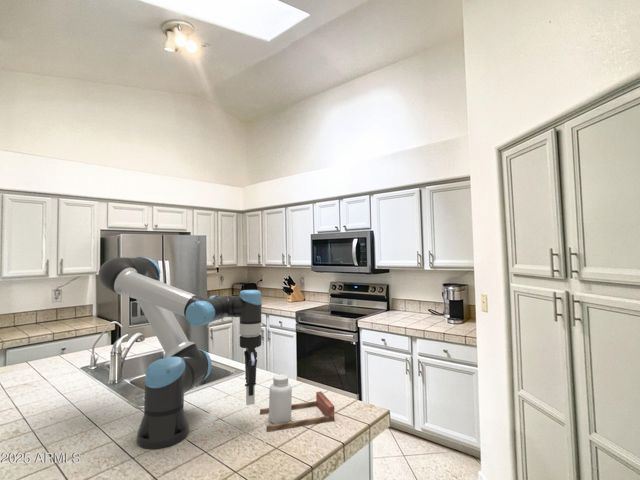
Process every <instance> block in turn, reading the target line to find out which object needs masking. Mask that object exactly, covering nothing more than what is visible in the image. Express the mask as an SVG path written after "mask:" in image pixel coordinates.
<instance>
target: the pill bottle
mask: <svg viewBox="0 0 640 480" xmlns="http://www.w3.org/2000/svg"><path fill="white" fill-rule="evenodd" d="M272 379H273V380H272V381H273V383H272V384H271V385H270V386H269V393H268V395H269V397H268V399H269V400H268V408H269V413H268V421H269V422H270V423H271V424H273V425H274V424H280V423H287V422H291V419H292V410H291V405H292V392H293V389H292V388H293V387H292V385H291V383H289V376H288V375H287V374H282V373H281V374H276V375H274V376H273V377H272Z"/></svg>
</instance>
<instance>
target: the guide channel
mask: <svg viewBox="0 0 640 480" xmlns="http://www.w3.org/2000/svg"><path fill="white" fill-rule="evenodd" d="M315 399H316V400H314V401H309V402H307V401H306V402H301V403H293V404H291V411H292V410H300V409H306V408H312V407H317V408H318V409H319V411H320V412H321V413H322V414H323V416H320V417H319V416H318V417H313V418H308V419H307V418H305V419H300V420H294V421H289V422H287V423H280V424H274V423H273V424H268V425H266V433H267V432H274V431H280V430H285V429H291V428H297V427H304V426H311V425H315V424H322V423H329V422H334V421H335V405H334V404H333V403H332V401H331V400H330V399H329V398H328V397H327V396H326V395H325V394H324V393H323V392H322V391H317V392H316V395H315ZM259 414H260V415H265V414H266V415H268V414H269V407H265V408H260V409H259Z"/></svg>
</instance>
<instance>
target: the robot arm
mask: <svg viewBox="0 0 640 480" xmlns="http://www.w3.org/2000/svg"><path fill="white" fill-rule="evenodd" d="M97 276H98V277H97V278H98V281H99V283H100V285H101V286H102V288H104V289H106V290H108V291H111V293H114V294H117V295H121V296H124V295H128V296H129V298H131V299H135V300H136V301H137V304H138V305H139V308H141V310H142V312H143V314H144V316H145V318H146V320H147V322H148V324H149V326H150V327H151V329H152V331H153V333H154V335H155V337H156V338H157V340H158V342H159V344H160V345H161V348H162V349H163V351H164V353H165V357H164V358H160V359H157V360H155V361H153V362H152V363H150V364H149V365H148V366H147V368H146V370H145V376H144V404H143V405H144V409H143V411H144V413H143V417H142V419H141V422H140V425H139V428H138V431H137V434H136V443H137V445H138V446H140V448H141V447H142V448H143V449H150V450H151V449H152V450H153V449H154V450H155V449H156V450H157V449H162V448H167V447H170V446H173V445H176V444H178V443H179V442H182V441H183V440H184V439H185V438H187V436H188V435H189V431H190V429H189V428H190V424H189V421H188V418H187V414H186V411H185V408H184V406H185V393H187V392H188V391H190V390H192V389H193V388H195V387H196V386H199V385H200V384H202V383H203V382H204V381H205V380H206V379H207V378H208V377H209V375H210V374H211V371H212V363H213V362H212V359H211V356H210V355H209V353H208V352H207V351H206V350H203V349H200V348H198V346H197V344H196V342H193V341H190V340H189V339H188V338H187V337H188V336H186V334H185V332H184V330H183V328H182V326H181V324H180V323H179V321H178V319H177V318H176V316H175V314H177V315H180V316H182V317H185V319H186V320H187V321H188V323H189V324H191V325H192V326H194V327H195V326H196V327H199V326H205V325H208V324H211V323H213V322H216V321H219V320H221V319H224V318H239V326H238V327H239V335H240V336H239V347H240V348H243V349H245V350H244V351H243V356H244V364H245V365H244V367H245V369H244V371H245V377H244V378H245V384H244V386H245V388H246V389H245V390H246V391H245V395H246V396H245V404H246V406H251V405H255V401H256V400H255V396H256V393H255V392H256V391H255V390H256V389H255V388H256V385H257V379H256V378H257V364H258V359H257V358H258V352H257V350H256V349H257V348H260V347H261V345H262V335H261V334H262V328H263V327H264V324H262V305H263V302H262V293H261V291H260V290H258V289H243V290H241V291H240V292H239V295H221V294H218V295H211V296H209V297H208V298H205V297H202V296H199V295H196V294H193V293H191V292H188V291H186V290H184V289H180V288H178V287H175V286H172V285H170V284H168V283H165V282H162V281H161V280H160V279H161V268H160V266H159V264H158V263H157V262H156V261H155V260H154V259H152V258H149V257H143V256H138V257H137V256H136V257H114V258H109V259H108V260H106V261H105V262H104V263H103V264H102V265H101V266H100V268H99V270H98V275H97ZM174 313H175V314H174Z"/></svg>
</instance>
